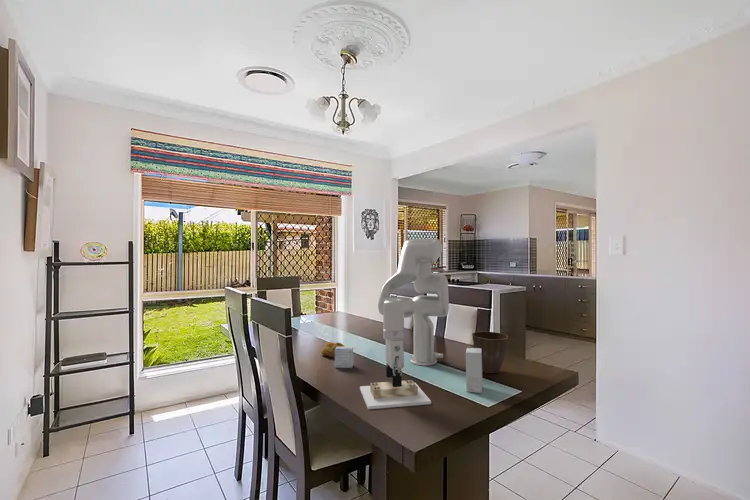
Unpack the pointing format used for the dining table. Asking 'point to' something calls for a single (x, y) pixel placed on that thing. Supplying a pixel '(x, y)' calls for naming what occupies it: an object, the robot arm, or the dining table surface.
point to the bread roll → (330, 349)
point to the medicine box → (343, 357)
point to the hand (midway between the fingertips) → (393, 381)
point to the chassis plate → (393, 399)
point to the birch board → (393, 390)
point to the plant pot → (491, 349)
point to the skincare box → (474, 370)
